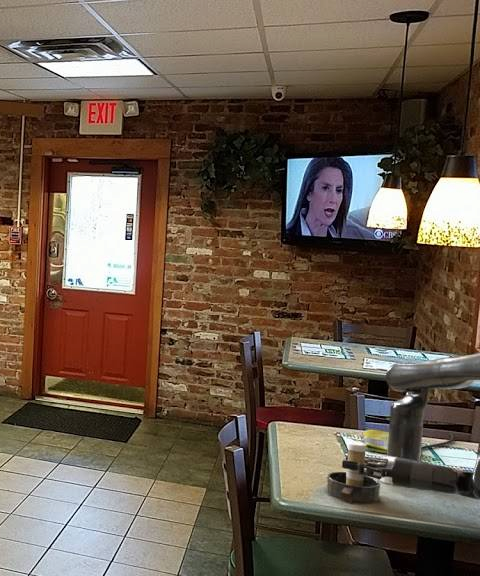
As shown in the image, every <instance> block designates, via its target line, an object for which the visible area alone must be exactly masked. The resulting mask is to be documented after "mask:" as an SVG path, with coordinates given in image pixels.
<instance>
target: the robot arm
mask: <svg viewBox="0 0 480 576" xmlns="http://www.w3.org/2000/svg"><path fill="white" fill-rule="evenodd" d="M385 381H386V384H387V385H388V387H389V388H390V389H391V390H393V391H395V392H398V393H405V395H404V396H403V397H401V398H399V399H396V400H394V401H392V402H391V404H390V412H389V426H388V432H389V436H388V448H387V453H386V455H385V456H394V457H396V458H395V459H394V463H389V462H388V459H383V458H379V457H373V456H372V457H371V456H365V463H360V462H359V463H358V462H353V461H348V455H347V456H346V457H345V459H343V460H342V461H341V462H342V463H341V467H342V469H345V470H347V469H350V470H356V471H357V472H358V474H361V475H365V476H368V477H371V478H374V479H376V480H380V479H381V477H382V478H385V477H392V483H393V484H394V486H398V487H403V488H408V489H414V490H420V491H428V492H435V493H440V494H446V495H457V496H461V497H465V498H470V499H472V500H473V499H474V500H478V501H480V439H479V441H478V445H477V446H478V447H477V452H476V461H475V465H474V467H473V468H474V469H473V471H468V470H460V469H457V468H454V467H451V466H446V465H445V466H444V465H439V464H435V463H434V464H433V463H430V462H426V461H421V455H422V450H424V449H430V448H436V447H440V446H446V445H448V444H451V443H452V442H453V441H454V440H455V434H454V433H453V432H452V431H451V432H450V433H449V436H450V437H451V438H450V439H449V440H447V441H443V442H438V443H434V444H428V445H423V446H422V441H423V431H424V430H423V429H424V415H425V411H426V408H427V406H428V401H429V400H428V399H429V393H430V389H431V390H461V389H464V388H468V387H469V386H471V385H472V384H473V383H474V382H475V381H480V352H476V353H473V354H466V355H458V356H447V357H441V358H435V359H430V360H425V361H422V362H397V363H393V364H392V365H391V366H389V367H388V369H387V371H386V372H385Z"/></svg>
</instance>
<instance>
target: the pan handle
mask: <svg viewBox="0 0 480 576" xmlns="http://www.w3.org/2000/svg"><path fill="white" fill-rule="evenodd" d="M340 500H342V502H345V503H351V504H352V503H354V502H353V488H349V487H344V489H343V490H342V491H341V499H340Z"/></svg>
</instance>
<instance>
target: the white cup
mask: <svg viewBox="0 0 480 576" xmlns="http://www.w3.org/2000/svg"><path fill="white" fill-rule="evenodd" d="M378 458H383V459H388V462H389V463H394V459H395V458H396V457H394V456H386V455H379V457H378ZM379 482H380V483H384V484H388V485H392V486H393V485H394V484H393V483H392V477H385V478H382V477H381V479H379ZM394 486H395V485H394Z"/></svg>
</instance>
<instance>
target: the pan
mask: <svg viewBox="0 0 480 576" xmlns="http://www.w3.org/2000/svg"><path fill="white" fill-rule="evenodd" d="M346 472H347V471H332V472H329V473H328V474H327V476H326V487H325V488H326V491H327V492H328V493H329V494H330V495H331V496H333V497H334V498H337V499H340V500H342V499H341V491H342V490H343V489H344V487H349V488H353V502H352V503H361V504H369V503H375V502H377V501H378V500H379V499H380V494H381V482H380V480H378V479H376V478H373V477H369V476H365V475H364V480H363V487H360V486H352V485H347V484H346Z"/></svg>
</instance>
